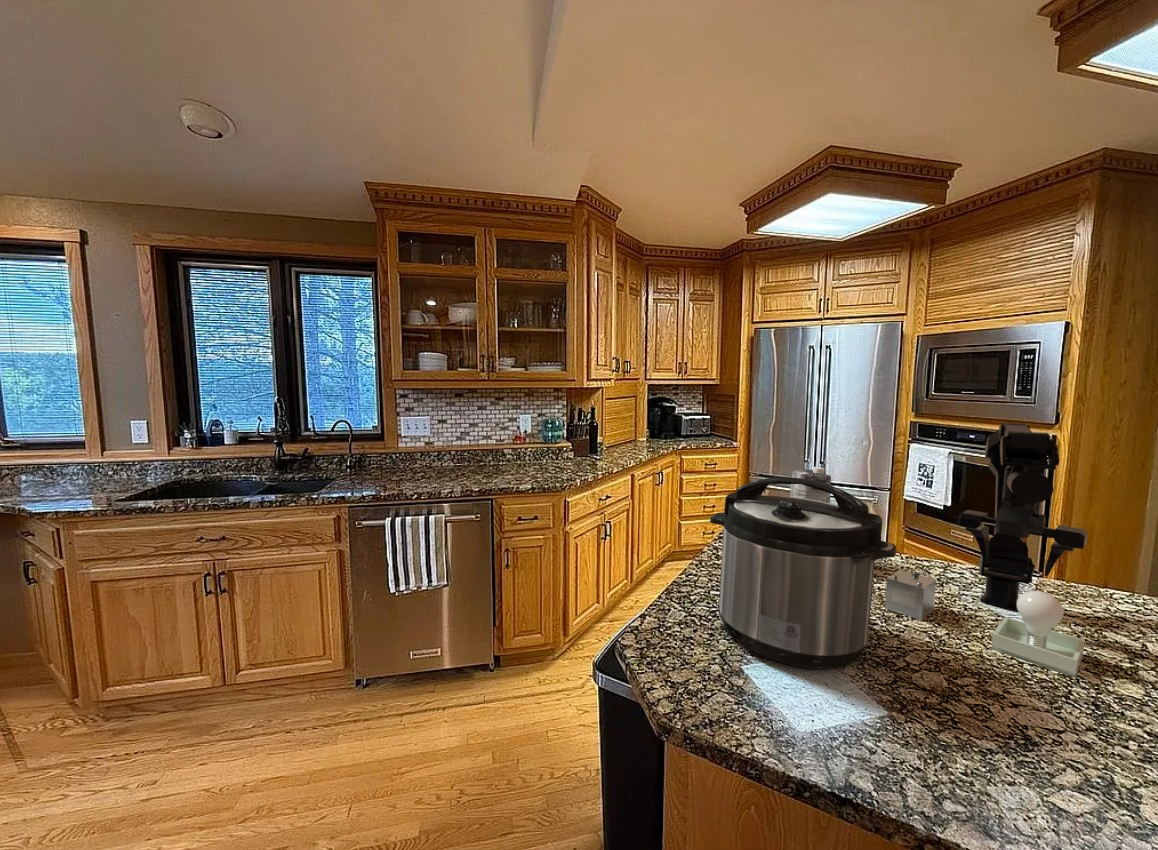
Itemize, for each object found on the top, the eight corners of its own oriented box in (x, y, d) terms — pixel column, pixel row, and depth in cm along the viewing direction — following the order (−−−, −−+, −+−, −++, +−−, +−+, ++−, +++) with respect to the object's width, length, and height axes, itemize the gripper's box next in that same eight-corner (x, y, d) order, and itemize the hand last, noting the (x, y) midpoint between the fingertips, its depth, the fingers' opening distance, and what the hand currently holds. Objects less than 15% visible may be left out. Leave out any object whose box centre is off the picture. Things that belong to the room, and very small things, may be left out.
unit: (897, 598, 112) (900, 566, 111) (933, 609, 106) (936, 576, 106) (884, 608, 107) (886, 574, 106) (921, 620, 101) (923, 585, 101)
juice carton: (795, 565, 132) (800, 469, 130) (785, 552, 143) (789, 463, 140) (829, 567, 131) (835, 471, 129) (816, 554, 141) (821, 464, 139)
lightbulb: (1068, 655, 88) (1074, 597, 87) (1044, 659, 86) (1049, 601, 85) (1028, 637, 94) (1032, 583, 93) (1004, 641, 92) (1009, 586, 91)
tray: (1004, 630, 97) (1005, 616, 97) (1083, 655, 89) (1084, 640, 88) (991, 649, 90) (992, 633, 90) (1075, 677, 82) (1077, 660, 82)
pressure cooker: (916, 662, 86) (929, 489, 83) (793, 695, 76) (804, 501, 73) (789, 594, 114) (796, 463, 111) (688, 611, 104) (693, 468, 101)
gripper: (953, 490, 98) (947, 563, 99) (1084, 509, 83) (1075, 595, 85) (967, 484, 105) (961, 552, 106) (1091, 500, 90) (1083, 580, 91)
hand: (1015, 568), depth 97 cm, fingers open, 9 cm apart
